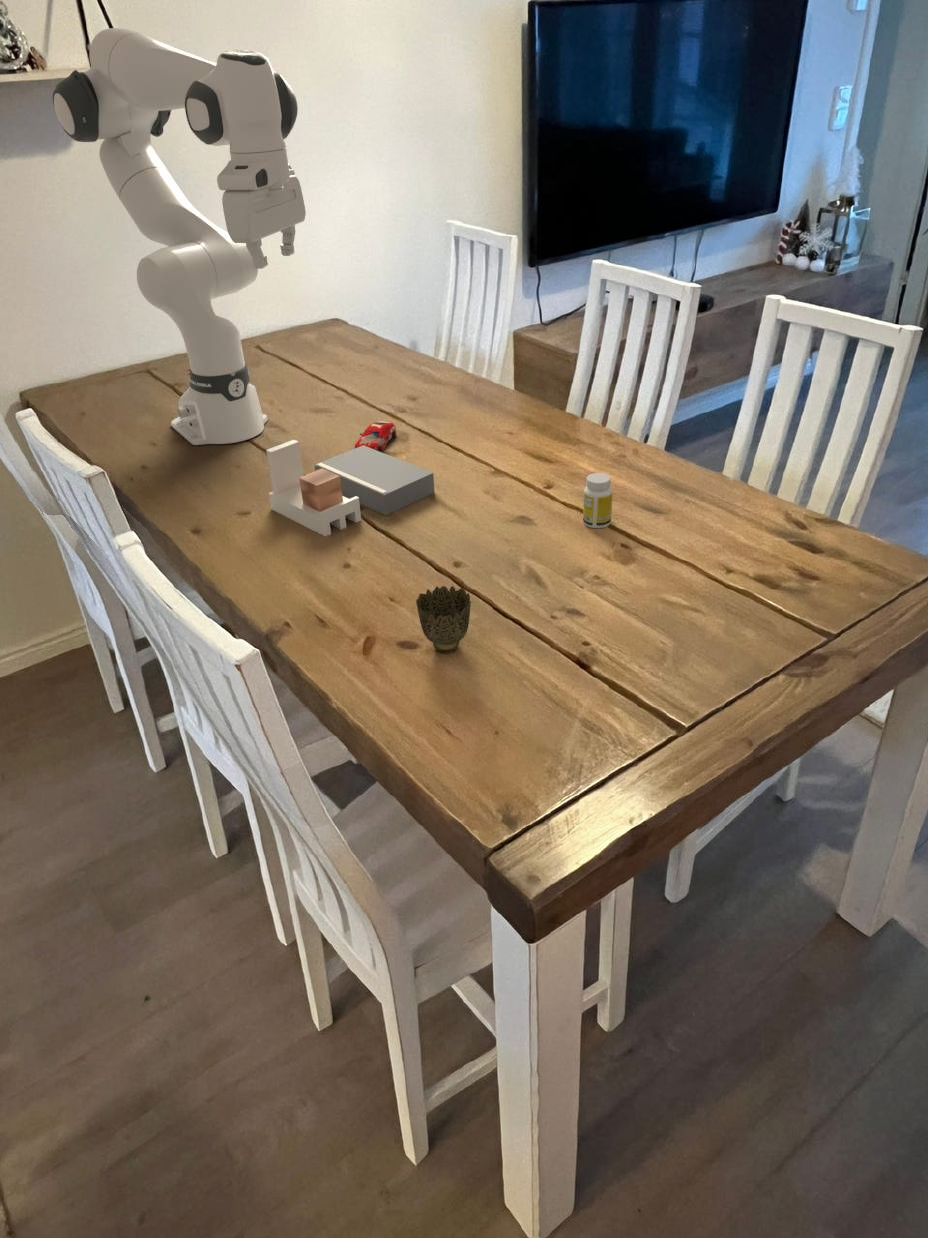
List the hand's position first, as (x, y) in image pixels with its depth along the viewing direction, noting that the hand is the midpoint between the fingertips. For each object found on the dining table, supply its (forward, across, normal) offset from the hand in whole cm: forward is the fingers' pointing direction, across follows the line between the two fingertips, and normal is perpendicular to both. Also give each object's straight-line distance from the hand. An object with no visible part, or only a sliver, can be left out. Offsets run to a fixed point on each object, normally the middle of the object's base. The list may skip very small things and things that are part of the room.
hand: (275, 261), depth 152 cm
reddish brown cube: (+37, +14, +10) cm, 41 cm away
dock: (+40, 0, +14) cm, 43 cm away
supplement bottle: (+41, +3, +57) cm, 70 cm away
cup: (+41, +45, +44) cm, 75 cm away
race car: (+41, -20, +6) cm, 46 cm away
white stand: (+41, +12, +8) cm, 43 cm away
